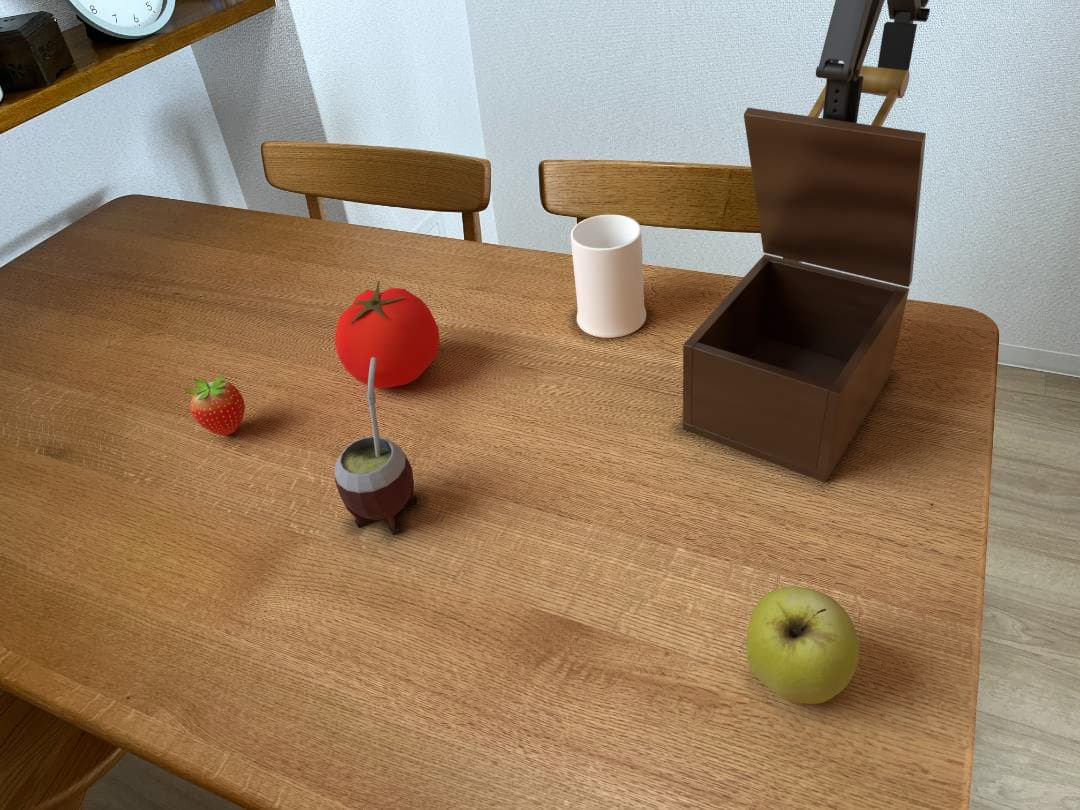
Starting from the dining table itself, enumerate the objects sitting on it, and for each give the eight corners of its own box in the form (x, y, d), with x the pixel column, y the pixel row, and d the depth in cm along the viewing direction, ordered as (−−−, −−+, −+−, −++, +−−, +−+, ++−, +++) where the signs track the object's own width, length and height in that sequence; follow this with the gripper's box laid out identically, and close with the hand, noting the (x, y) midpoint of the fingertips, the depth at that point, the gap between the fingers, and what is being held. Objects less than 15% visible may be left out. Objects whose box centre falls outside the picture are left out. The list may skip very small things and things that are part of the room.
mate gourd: (362, 551, 76) (315, 436, 66) (341, 498, 81) (295, 384, 72) (436, 520, 78) (401, 403, 68) (410, 469, 83) (375, 355, 73)
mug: (599, 280, 106) (593, 197, 98) (662, 289, 103) (661, 203, 95) (566, 332, 98) (556, 246, 90) (633, 343, 95) (629, 254, 87)
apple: (818, 600, 65) (850, 556, 57) (856, 702, 61) (897, 670, 52) (722, 620, 65) (740, 578, 56) (754, 723, 61) (778, 695, 52)
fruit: (240, 411, 94) (214, 357, 89) (263, 429, 91) (238, 374, 86) (199, 437, 91) (169, 382, 86) (221, 456, 88) (193, 401, 83)
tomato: (421, 333, 102) (401, 256, 94) (464, 378, 94) (446, 298, 86) (333, 372, 97) (305, 295, 90) (370, 422, 90) (343, 342, 82)
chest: (825, 482, 76) (840, 394, 69) (682, 429, 83) (682, 344, 76) (890, 375, 86) (909, 288, 79) (757, 336, 93) (764, 253, 86)
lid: (922, 140, 63) (965, 56, 66) (743, 114, 70) (788, 39, 73) (908, 287, 78) (944, 213, 81) (763, 252, 86) (800, 186, 89)
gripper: (908, -182, 69) (870, 70, 83) (789, -120, 55) (767, 171, 69) (1003, -186, 65) (947, 78, 79) (901, -121, 51) (854, 187, 65)
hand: (863, 122), depth 74 cm, fingers open, 13 cm apart
